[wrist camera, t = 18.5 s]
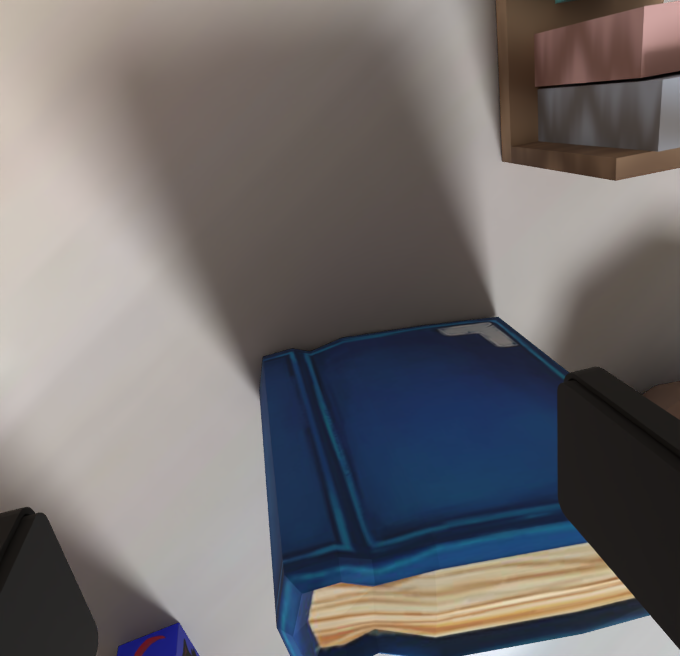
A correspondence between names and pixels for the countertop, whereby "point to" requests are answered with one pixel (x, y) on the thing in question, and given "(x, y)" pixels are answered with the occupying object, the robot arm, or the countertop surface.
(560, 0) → the teal book
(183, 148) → the countertop surface
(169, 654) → the cereal box
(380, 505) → the book
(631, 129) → the shelf
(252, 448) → the countertop surface
